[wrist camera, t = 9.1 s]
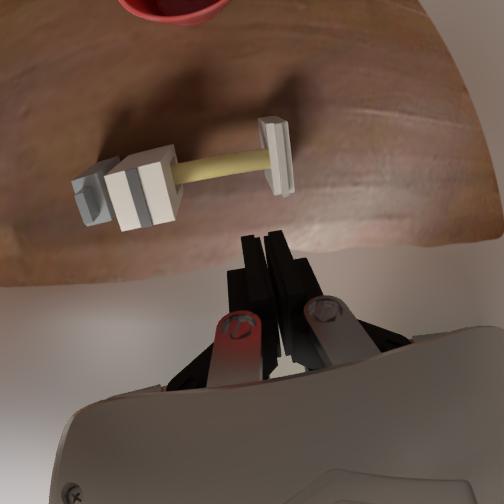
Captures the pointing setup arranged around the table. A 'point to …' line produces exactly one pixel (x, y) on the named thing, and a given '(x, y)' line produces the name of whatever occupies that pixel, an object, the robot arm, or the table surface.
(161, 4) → the flower pot
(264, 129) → the rail
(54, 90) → the table surface
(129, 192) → the grooved sliding block
